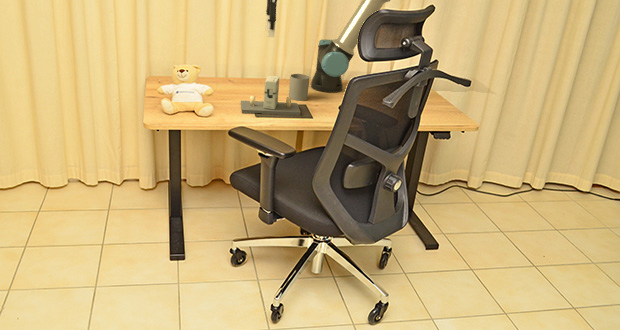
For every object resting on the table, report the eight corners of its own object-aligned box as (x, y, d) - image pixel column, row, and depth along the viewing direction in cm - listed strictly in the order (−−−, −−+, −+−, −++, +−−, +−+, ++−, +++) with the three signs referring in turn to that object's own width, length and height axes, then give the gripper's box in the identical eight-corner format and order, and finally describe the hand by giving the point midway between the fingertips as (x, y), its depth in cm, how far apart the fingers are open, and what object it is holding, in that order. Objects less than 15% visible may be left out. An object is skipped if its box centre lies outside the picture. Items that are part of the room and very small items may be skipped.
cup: (304, 102, 266) (307, 80, 262) (286, 99, 267) (288, 77, 263) (308, 96, 274) (310, 75, 270) (291, 94, 275) (293, 72, 271)
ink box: (266, 102, 255) (268, 74, 251) (277, 103, 255) (280, 76, 250) (262, 108, 247) (264, 80, 243) (274, 109, 247) (276, 81, 242)
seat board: (296, 106, 259) (297, 94, 257) (300, 115, 248) (301, 103, 246) (240, 103, 255) (241, 91, 253) (241, 113, 244) (242, 100, 242)
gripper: (262, -22, 265) (259, 27, 273) (266, -14, 242) (263, 39, 251) (279, -20, 266) (275, 28, 275) (285, -12, 244) (281, 40, 252)
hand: (269, 33), depth 263 cm, fingers open, 13 cm apart
